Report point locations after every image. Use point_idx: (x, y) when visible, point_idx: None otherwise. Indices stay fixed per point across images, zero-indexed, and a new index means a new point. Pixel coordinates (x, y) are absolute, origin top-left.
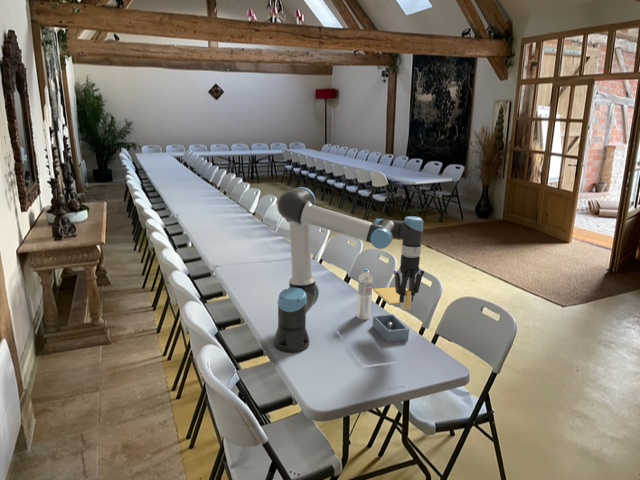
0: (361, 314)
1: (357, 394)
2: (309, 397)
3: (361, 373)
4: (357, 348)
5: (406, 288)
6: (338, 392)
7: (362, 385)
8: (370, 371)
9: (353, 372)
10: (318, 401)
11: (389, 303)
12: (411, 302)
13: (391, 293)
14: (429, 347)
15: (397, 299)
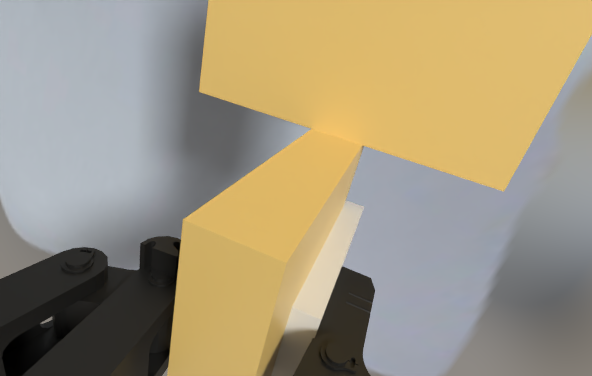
0: None
1: (98, 248)
2: (7, 191)
3: (139, 186)
4: (196, 33)
5: (234, 363)
6: (63, 215)
7: (120, 230)
8: (166, 193)
9: (121, 168)
10: (21, 214)
11: (201, 91)
12: (487, 180)
13: None
14: (499, 206)
15: (359, 39)
